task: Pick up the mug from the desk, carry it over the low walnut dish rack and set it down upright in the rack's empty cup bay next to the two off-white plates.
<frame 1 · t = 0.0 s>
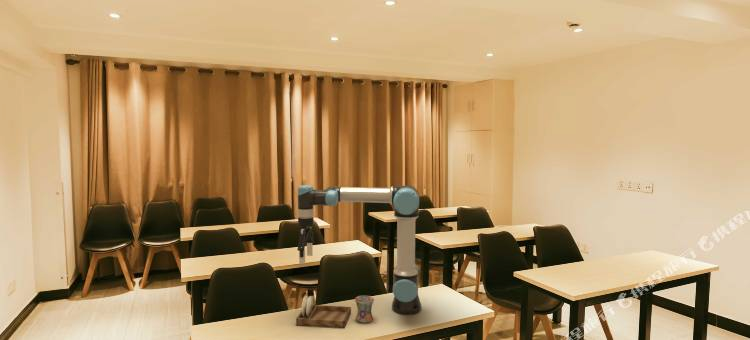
hand: (306, 259, 218), 28 cm above the table, fingers open, 13 cm apart
rack: (324, 319, 215), on the table
plates: (307, 306, 215), in the rack, point 6 cm above the table
mug: (364, 319, 216), on the table
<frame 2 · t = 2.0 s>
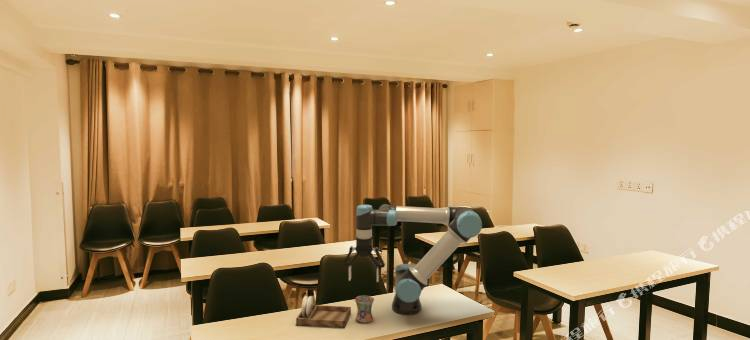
hand: (363, 280, 214), 19 cm above the table, fingers open, 13 cm apart
nothing on the table moved.
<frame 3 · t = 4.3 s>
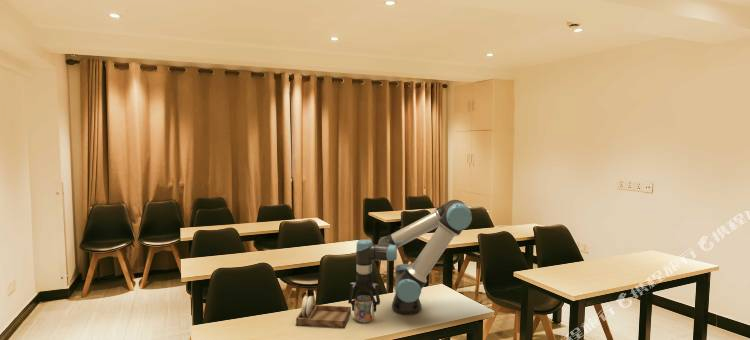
hand: (364, 317, 216), 1 cm above the table, fingers closed on mug, 8 cm apart
mug: (363, 319, 216), on the table, touching gripper
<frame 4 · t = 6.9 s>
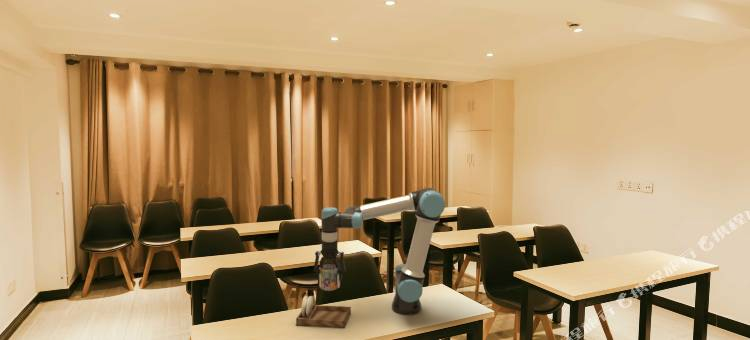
hand: (329, 286, 213), 17 cm above the table, fingers closed on mug, 8 cm apart
mug: (329, 288, 213), point 16 cm above the table, touching gripper
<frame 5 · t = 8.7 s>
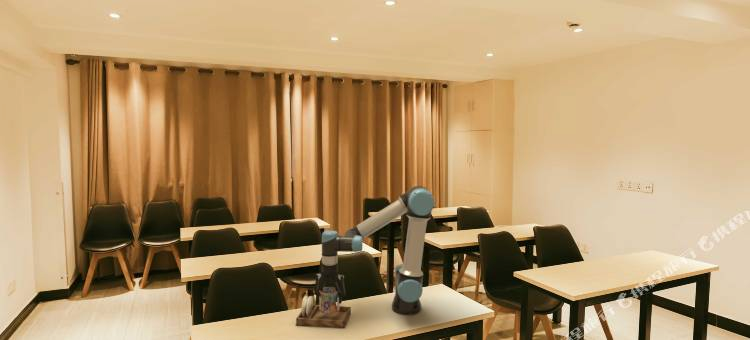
hand: (329, 309, 214), 5 cm above the table, fingers closed on mug, 8 cm apart
mug: (328, 311, 214), point 4 cm above the table, touching gripper
when the fingers open (4 cm above the table, at t = 10.0 s): mug drops 2 cm, resting on rack.
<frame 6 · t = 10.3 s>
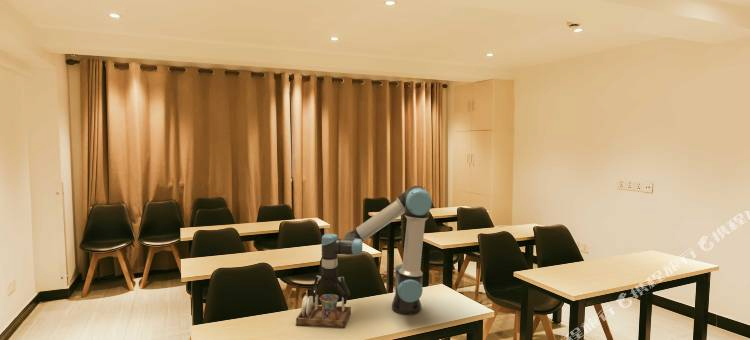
hand: (329, 309, 214), 5 cm above the table, fingers open, 12 cm apart
mug: (329, 318, 214), point 1 cm above the table, touching rack
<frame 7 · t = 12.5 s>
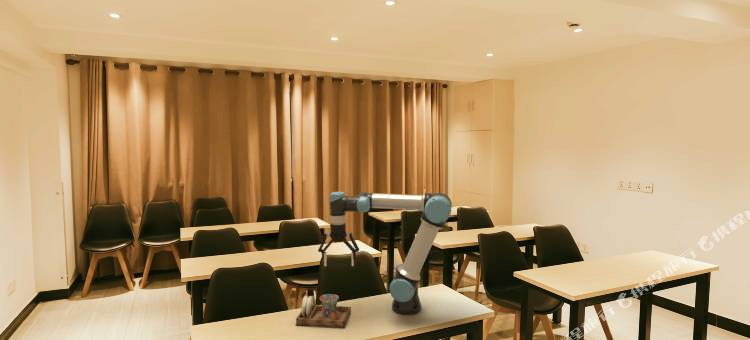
hand: (339, 265, 219), 25 cm above the table, fingers open, 13 cm apart
nothing on the table moved.
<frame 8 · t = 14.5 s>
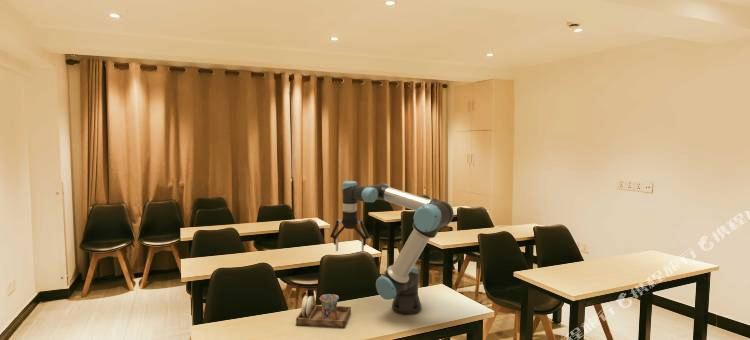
hand: (349, 251, 231), 29 cm above the table, fingers open, 13 cm apart
nothing on the table moved.
at the end: mug inside the target area on the rack (0.1 cm from its centre), point 0.8 cm above the rack's base; mug tilted 0°; the gripper is holding nothing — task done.
